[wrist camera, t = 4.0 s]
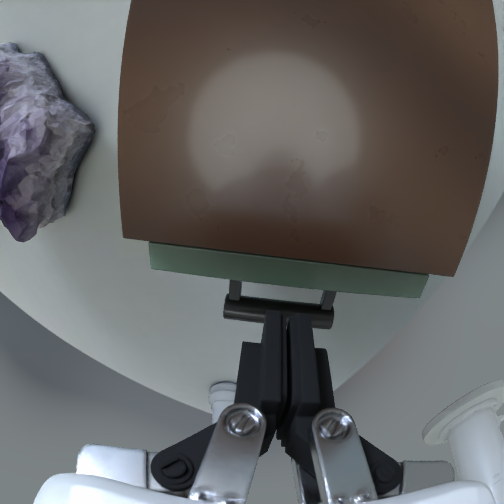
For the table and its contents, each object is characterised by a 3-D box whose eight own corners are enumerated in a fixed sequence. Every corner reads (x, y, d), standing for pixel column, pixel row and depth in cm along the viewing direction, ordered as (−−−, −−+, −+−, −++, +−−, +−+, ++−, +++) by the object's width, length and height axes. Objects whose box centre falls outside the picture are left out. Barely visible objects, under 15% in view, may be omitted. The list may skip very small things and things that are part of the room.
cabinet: (377, 197, 18) (454, 277, 9) (197, 174, 19) (122, 238, 9) (398, 9, 12) (482, -44, 2) (215, -19, 12) (164, -104, 3)
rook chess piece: (223, 375, 28) (211, 439, 21) (256, 391, 29) (250, 453, 22) (202, 390, 30) (189, 448, 23) (234, 405, 31) (225, 461, 24)
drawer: (351, 280, 21) (382, 370, 13) (200, 262, 21) (161, 349, 13) (395, 34, 12) (470, -3, 4) (217, 7, 12) (172, -60, 5)
